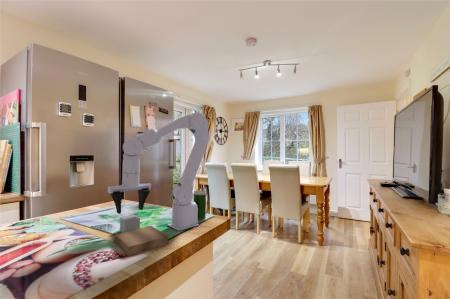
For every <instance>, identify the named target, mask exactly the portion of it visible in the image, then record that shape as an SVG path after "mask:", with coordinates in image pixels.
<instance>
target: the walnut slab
mask: <svg viewBox="0 0 450 299" xmlns="http://www.w3.org/2000/svg"><path fill="white" fill-rule="evenodd" d="M114 243H115V244H116V245H117V246H118V248H120V249H121V250H122V251H123V253H125V254H126V255H127V256H128V257H130V256H131V257H132V256H133V255H137V254H141V253H143V252H147V251H150V250H153V249H157V248H160V247H162V246H163V247H164V246H166V245H168V244H169V235H167V234H165V233H164V232H162V231H161V230H158V229H157V228H156V227H154V226H152V225H149V226H144V227H140V228H139V229H135V230H131V231H126V232H118V233H114Z"/></svg>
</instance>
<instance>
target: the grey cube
mask: <svg viewBox="0 0 450 299" xmlns="http://www.w3.org/2000/svg"><path fill="white" fill-rule="evenodd" d="M119 220H120V221H119V233H122V232H126V231H131V230H135V229H139V228H141V226H140V225H141V217H139V216H137V215H136V214H131V215H125V216H121V217H120V218H119Z"/></svg>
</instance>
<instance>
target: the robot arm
mask: <svg viewBox="0 0 450 299" xmlns="http://www.w3.org/2000/svg"><path fill="white" fill-rule="evenodd" d="M208 126H209V121H208V119H207V118H206V116H205V114H204V113H203V112H200V111H195V112H193V113H192V114H187V115H184V116H181V117H179V118H177V119H175V120H173V121H172V122H169V123H167V124H166V125H164V126H162V127H160V128H158V129H156V128H150V129H149V128H145V131H144V132H142V133H140V134H138V135H135V134H134V135H133V136H132V138H128V139H127V140H126V141H125V142H124V143H123V144H122V152H124V153H123V154H122V156H123V157H122V158H123V159H122V173H121V174H122V177H121V178H122V179H121V184H120V185H114V186H113V185H112V186H107V193H108V194H110V196H111V198H112V200H113V203H114V205H115V210H116V213H117V215H118V214H119V215H121V214H122V199H123V194H122V193H123V192H132V191H137V194H138V210H140V211H143V210H144V207H145V203H146V200H147V199H148V196H149V195H150V193H151V189H152V183H140V182H141V181H140V180H141V179H140V177H141V176H140V175H141V160H140V153H141V151H143V150H144V151H146V150H147V149H149V148H151V147H153V146H156V145H157V144H159V143H160V142H161V140H162V138H163V137H164V136H167V135H168V134H169V135H170V134H171V133H173V132H176V131H177V130H179V129H184V130H185V129H188V130H189V131H190V132H191V133H192V135H193V137H194V139H195V141H194V144H193V146H192V149H191V152H190V154H189V156H188V159H187V162H186V165H185V168H184V170H183V172H182V175H181V177H180V178H179V179H178V182H177V184H176V185H175V186H174V187H173V188H172V196H173V197H174V199H173V201H172V212H171V223H167V224H166V225H167V226H168V227H170V228H172V229H174V230H176V231H179V232H180V231H183V230H186V229H187V230H188V229H190V228H194V227H197V226H199V225H200V224H199V223H198V222H199V221H198V207H197V204H196V203H195V202H194V201H193V193H194V188H195V179H196V177H197V175H198V170H199V168H200V165H201V163H202V160H203V157H204V155H205V152H206V150H207V147H208V144H209V142H210V131H209V127H208Z"/></svg>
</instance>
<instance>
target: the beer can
mask: <svg viewBox="0 0 450 299" xmlns="http://www.w3.org/2000/svg"><path fill="white" fill-rule="evenodd" d="M192 201H194V202H195V203H196V204H197V207H198V222H205V220H206V216H207V214H206V213H207V212H206V210H207V209H206V208H207V192H206V190H203V189H202V190H201V189H197V190H193V198H192Z"/></svg>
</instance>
